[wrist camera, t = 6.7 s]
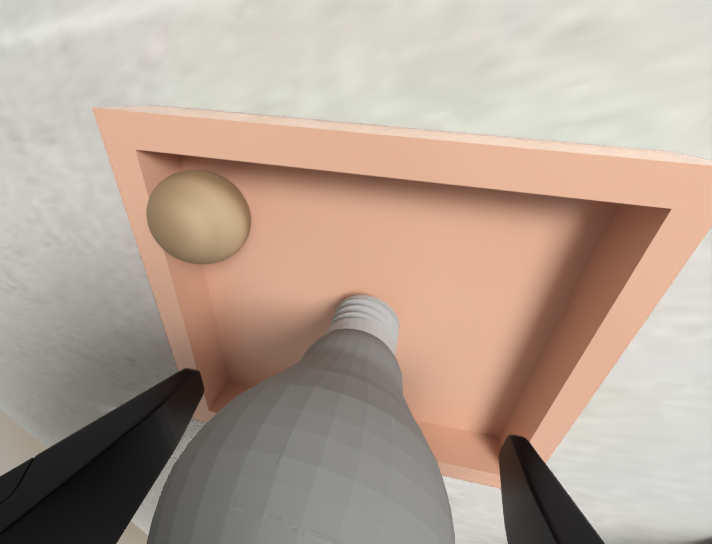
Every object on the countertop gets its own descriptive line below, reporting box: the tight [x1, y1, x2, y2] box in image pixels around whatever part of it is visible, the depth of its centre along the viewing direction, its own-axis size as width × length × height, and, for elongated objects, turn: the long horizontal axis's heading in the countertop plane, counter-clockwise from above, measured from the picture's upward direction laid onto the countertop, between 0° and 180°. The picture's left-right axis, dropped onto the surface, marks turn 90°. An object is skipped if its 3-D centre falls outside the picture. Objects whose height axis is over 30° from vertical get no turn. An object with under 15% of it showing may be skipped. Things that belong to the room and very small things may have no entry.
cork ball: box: [146, 170, 251, 264], centre depth 10 cm, size 3×3×3 cm
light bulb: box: [147, 295, 455, 544], centre depth 8 cm, size 6×6×10 cm
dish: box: [92, 106, 712, 489], centre depth 12 cm, size 16×14×2 cm
